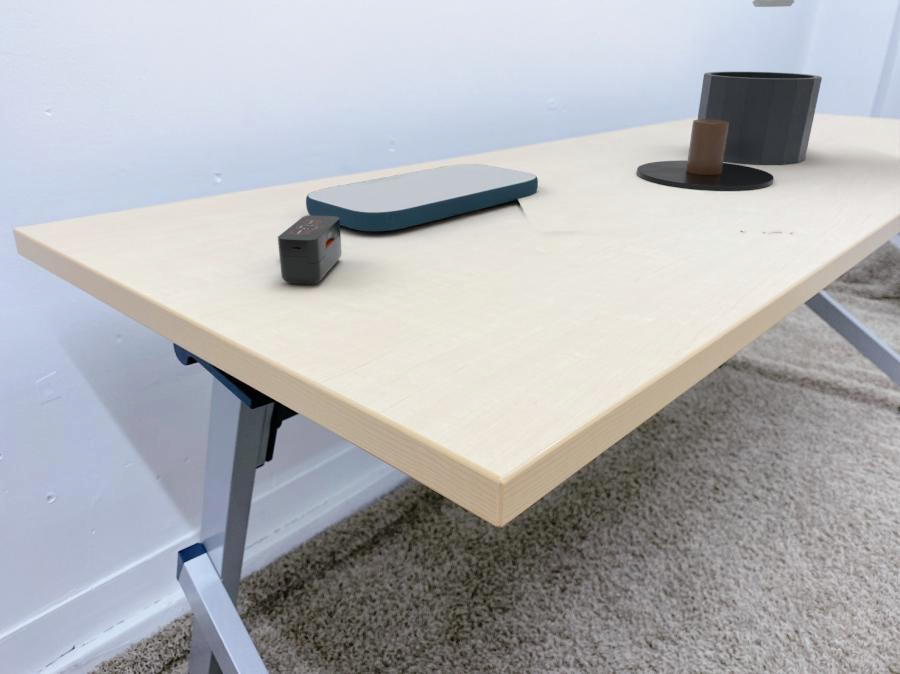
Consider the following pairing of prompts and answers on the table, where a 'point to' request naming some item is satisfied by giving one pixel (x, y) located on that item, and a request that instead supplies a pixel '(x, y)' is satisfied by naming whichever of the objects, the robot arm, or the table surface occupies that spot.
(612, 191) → the table surface
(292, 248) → the dark grey box
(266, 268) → the table surface
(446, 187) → the grey flat rounded slab
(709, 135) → the lid
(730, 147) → the pot
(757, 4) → the rook chess piece
